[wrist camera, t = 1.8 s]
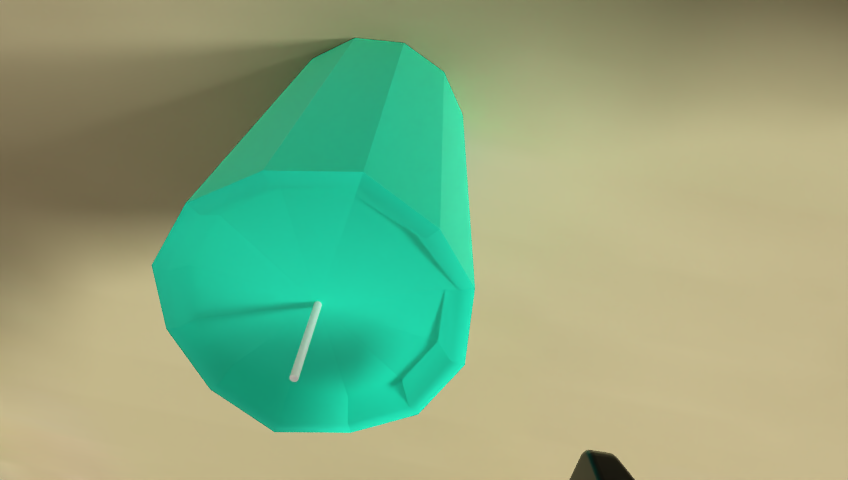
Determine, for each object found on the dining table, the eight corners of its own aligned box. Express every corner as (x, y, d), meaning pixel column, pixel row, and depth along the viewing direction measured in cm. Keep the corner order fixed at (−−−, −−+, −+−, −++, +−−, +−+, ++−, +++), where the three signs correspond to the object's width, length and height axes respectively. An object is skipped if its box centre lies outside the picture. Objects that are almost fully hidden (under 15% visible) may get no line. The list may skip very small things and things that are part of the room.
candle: (427, 228, 22) (407, 530, 11) (269, 175, 21) (90, 447, 10) (491, 77, 19) (546, 293, 8) (312, 7, 18) (122, 151, 7)
